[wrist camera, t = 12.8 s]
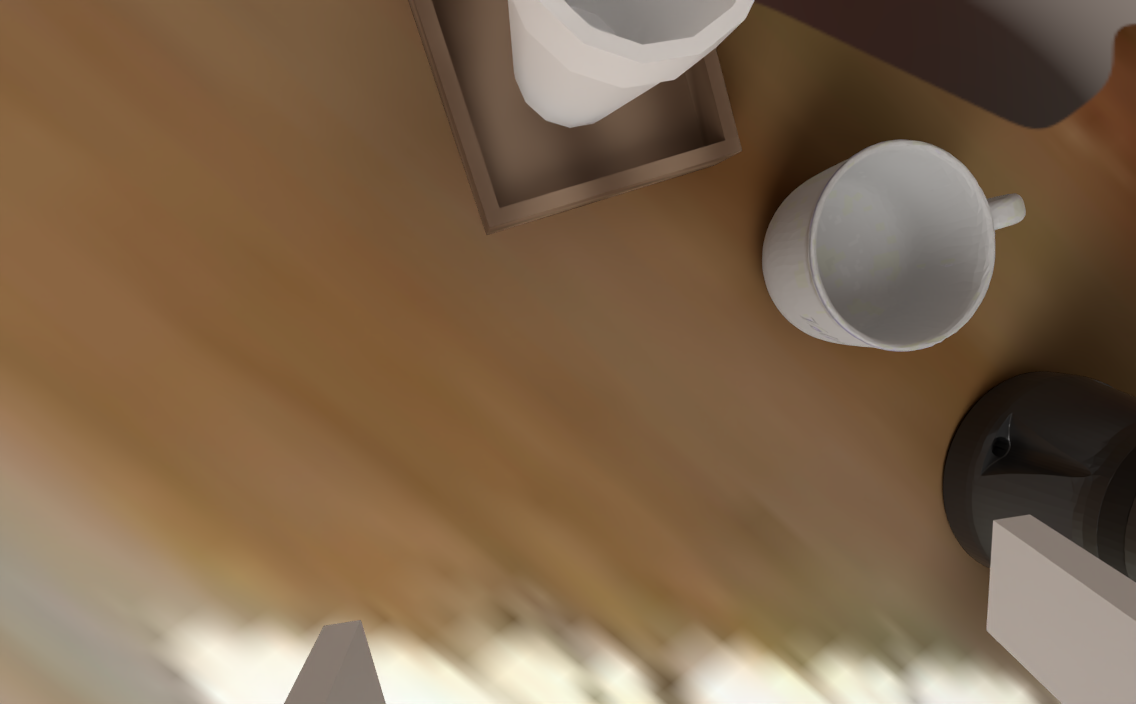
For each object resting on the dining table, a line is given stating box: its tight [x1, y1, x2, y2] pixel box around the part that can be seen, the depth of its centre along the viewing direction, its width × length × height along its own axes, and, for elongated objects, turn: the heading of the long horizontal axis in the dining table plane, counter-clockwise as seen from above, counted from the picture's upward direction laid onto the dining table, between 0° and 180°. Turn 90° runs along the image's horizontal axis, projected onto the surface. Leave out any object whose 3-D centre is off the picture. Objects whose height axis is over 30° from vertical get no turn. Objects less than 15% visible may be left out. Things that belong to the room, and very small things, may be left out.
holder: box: [408, 0, 742, 235], centre depth 31 cm, size 15×15×4 cm
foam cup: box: [508, 0, 754, 128], centre depth 25 cm, size 10×9×13 cm
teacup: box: [762, 139, 1026, 351], centre depth 33 cm, size 14×11×8 cm
